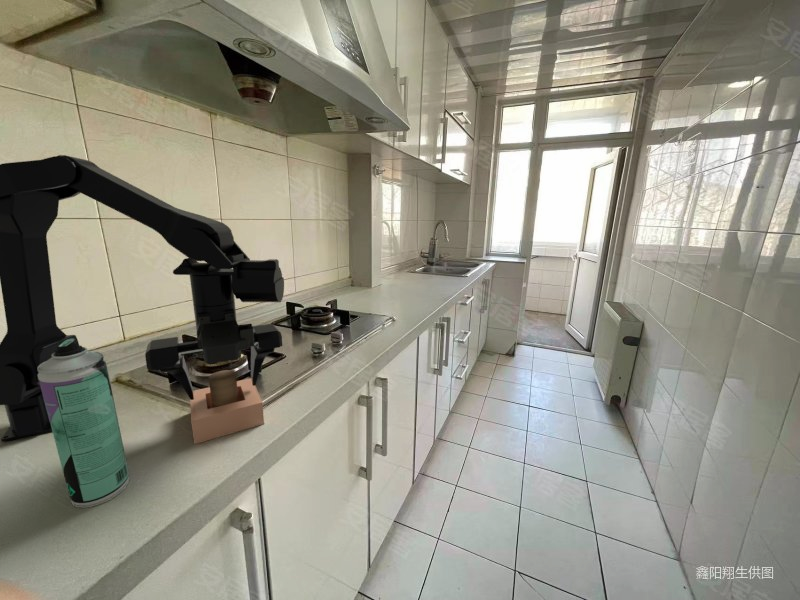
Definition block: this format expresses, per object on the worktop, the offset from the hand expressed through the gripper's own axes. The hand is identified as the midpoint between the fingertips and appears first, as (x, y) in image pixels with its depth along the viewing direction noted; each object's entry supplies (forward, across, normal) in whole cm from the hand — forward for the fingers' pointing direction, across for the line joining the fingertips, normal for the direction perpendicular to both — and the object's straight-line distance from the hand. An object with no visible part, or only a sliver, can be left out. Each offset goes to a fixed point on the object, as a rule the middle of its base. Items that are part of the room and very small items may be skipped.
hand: (224, 391), depth 55 cm
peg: (+5, 0, 0) cm, 5 cm away
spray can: (+5, -15, -9) cm, 18 cm away
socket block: (+5, 0, 0) cm, 5 cm away
